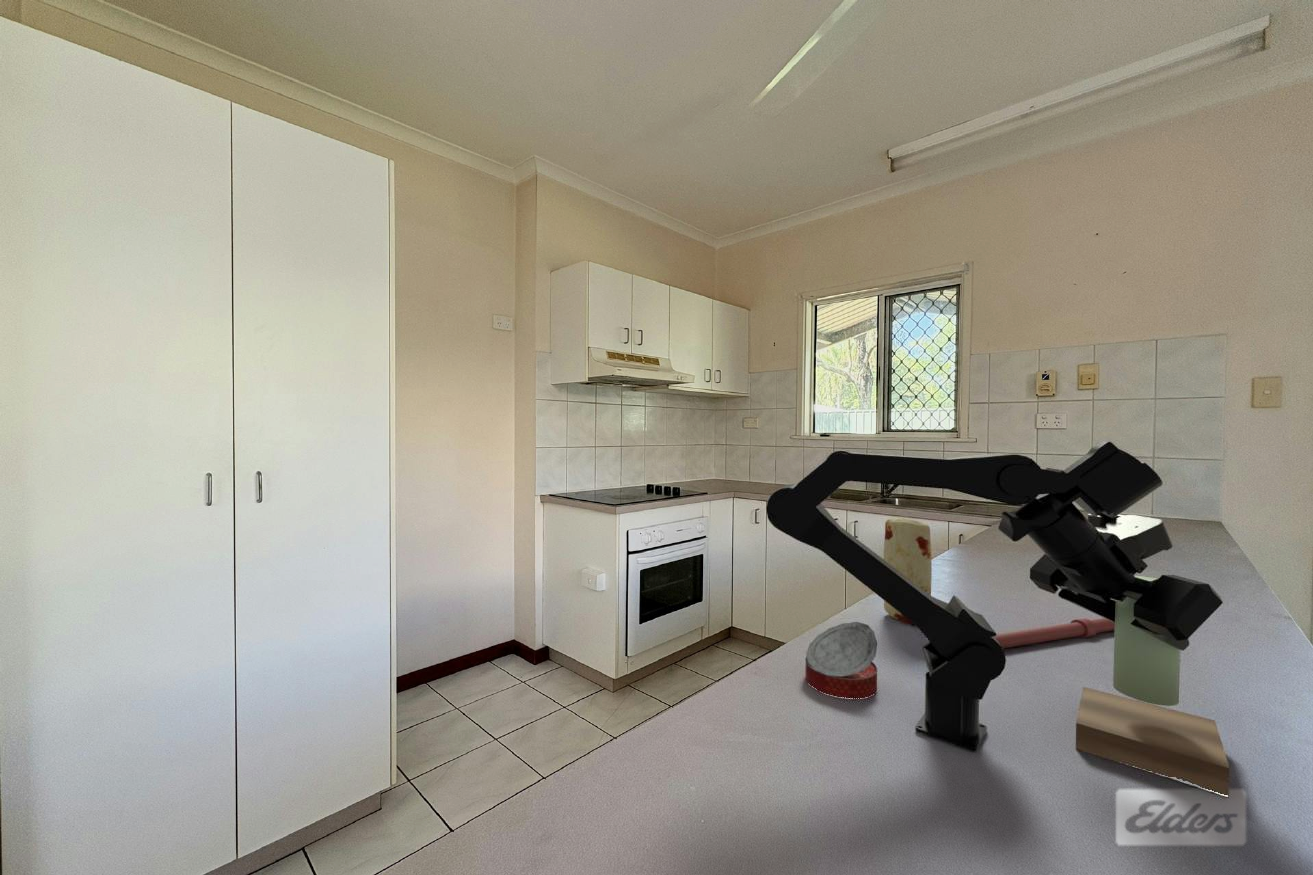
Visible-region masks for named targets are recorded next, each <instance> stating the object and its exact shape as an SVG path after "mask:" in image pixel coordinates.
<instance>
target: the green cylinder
mask: <svg viewBox="0 0 1313 875" xmlns="http://www.w3.org/2000/svg"><path fill="white" fill-rule="evenodd" d="M1134 576H1135V577H1137V578H1140V579H1144V580H1147V581H1153V580H1156V579H1157V578H1155V577H1149V576H1143V575H1134ZM1136 601H1137V600H1134V599H1131V598H1128V597H1126V599H1125V600H1124V601H1123V602H1117V601H1115V630H1114V637H1113V638H1114V639H1113V645H1114V646H1113V669H1112V670H1113V671H1112V672H1113V674H1112V686H1113V688H1114V689H1115V690H1116V691H1117V692H1118V693H1121V694H1123V695H1124V696H1127V697H1128V698H1130V699H1133V700H1137V701H1141V702H1145V703H1149V704H1153V705H1157V706H1163V707H1165V706H1167V707H1171V706H1177V705H1179V703H1180V681H1181V680H1180V678H1181V677H1180V676H1181V675H1180V672H1181V650H1180V649H1178V648H1176V647H1174V646H1172V645H1170V644H1168V643H1166V642H1164V641H1162V640H1160V639H1158V638H1156V637H1154V636H1152V635H1150V634H1148V633H1146V632H1144V631H1142V630H1140V629H1138V628H1137V627H1135V626H1133V625H1131V623H1132V621H1133V620H1134V619H1135V617H1134V616H1133V612H1134V603H1135V602H1136Z"/></svg>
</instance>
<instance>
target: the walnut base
mask: <svg viewBox="0 0 1313 875" xmlns="http://www.w3.org/2000/svg"><path fill="white" fill-rule="evenodd" d="M1081 690H1082V691H1081V696H1080V701H1079V705H1078V706H1079V707H1078V711H1077V717H1076V721H1075V722H1076V723H1075V750H1078V749H1079V750H1078V751H1081V750H1082V752H1084V751H1085V753H1087V754H1090V753H1091V754H1090V755H1093V756H1096V755H1098V756H1097V757H1100V756H1101V757H1100V758H1103V759H1106V758H1107V760H1109V759H1110V760H1109V761H1112V760H1114V761H1113V762H1115V761H1116V762H1115V763H1118V762H1121V763H1122V765H1124V764H1128V765H1130V766H1129V767H1131V766H1135V767H1138V768H1141V769H1145V770H1147V771H1152V772H1153V773H1158V774H1161V775H1165V776H1168V777H1176V778H1177V779H1182V780H1183V781H1188V782H1190V783H1192V784H1196V785H1198V786H1200V787H1202V788H1205V789H1208V790H1212V791H1214V792H1218V793H1220V794H1224V795H1228V796H1229V797H1230V773H1231V772H1230V771H1231V770H1230V765H1229V762H1228V759H1227V756H1226V753H1225V749H1224V747H1223V746H1224V744H1223V743H1222V739H1221V735H1220V733H1219V729H1218V726H1217V723H1216V722H1217V721H1216V720H1213V719H1211V718H1207V717H1202V716H1199V715H1195V714H1191V713H1188V712H1184V711H1179V710H1175V709H1171V708H1167V707H1165V706H1161V705H1156V704H1151V703H1147V702H1143V701H1140V700H1137V699H1134V698H1130V697H1124V696H1121V695H1117V694H1113V693H1110V692H1105V691H1103V690H1098V689H1093V688H1090V687H1086V686H1082V689H1081ZM1121 763H1120V764H1121ZM1128 765H1127V766H1128Z"/></svg>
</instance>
